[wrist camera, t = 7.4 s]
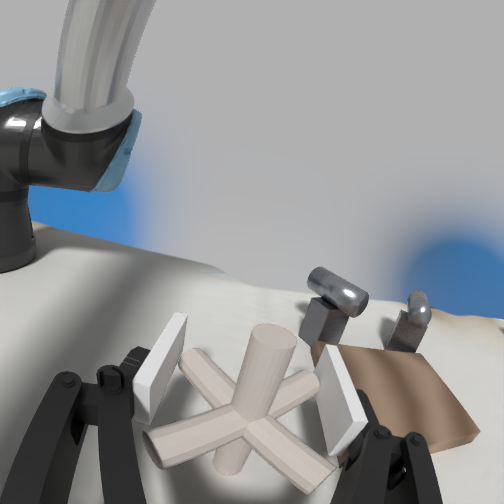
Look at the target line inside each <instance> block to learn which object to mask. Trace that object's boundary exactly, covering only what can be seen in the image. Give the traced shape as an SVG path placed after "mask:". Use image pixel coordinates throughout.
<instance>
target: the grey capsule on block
mask: <svg viewBox="0 0 504 504" xmlns="http://www.w3.org/2000/svg"><path fill="white" fill-rule="evenodd" d="M307 285H308V287H309V289H311V290H312V291H314V292H315V293H317V294H318V295H320V296H321V297H317V298H311V301H310V304H309V307H308V310H307V313H306V316H305V319H304V322H303V325H302V327H301V330H300V333H299V336H300V337H301V338H302V339H303V340H304V341H305V342H306V343H307V344H309V345H310V346H311V347H313V344H314V342H315V340H316V341H322V342H328V343H334V344H338V343H339V341H340V338H341V336H342V333H343V331H344V329H345V326H346V324H347V321H348V319H349V316H350V317H352V318H355V317H357V316H359V315H360V314H361V313H362V312H363V311H364V309H365V308H366V306H367V304H368V300H369V295H368V293H367V292H366V291H364V290H362V289H360V288H359V287H357V286H355V285H353V284H352V283H350V282H348V281H346V280H345V279H343V278H341V277H339V276H337V275H335V274H334V273H332V272H330V271H328V270H326V269H325V268H323V267H317V268H315V269H314V270H313V271H312V272H311V273H310V275H309V277H308V281H307Z"/></svg>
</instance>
